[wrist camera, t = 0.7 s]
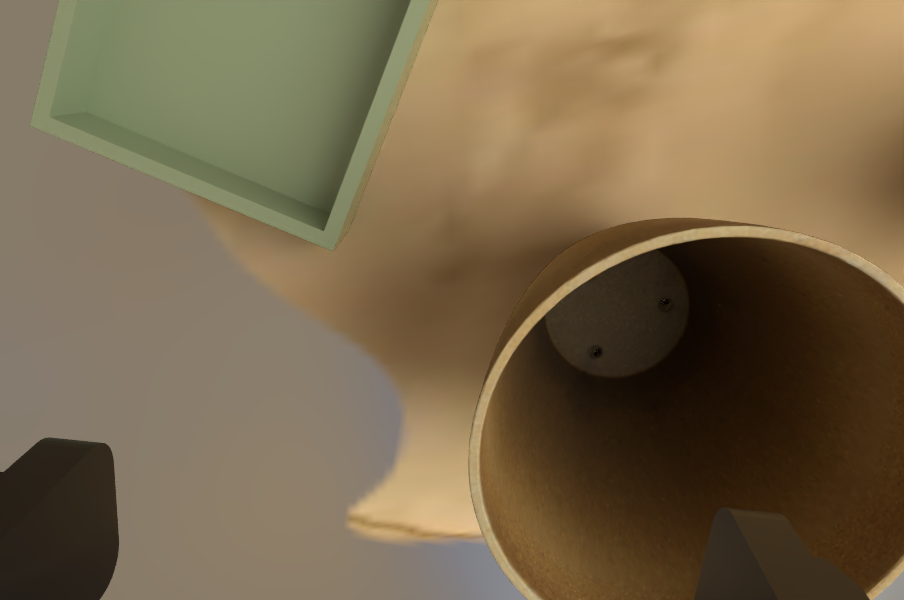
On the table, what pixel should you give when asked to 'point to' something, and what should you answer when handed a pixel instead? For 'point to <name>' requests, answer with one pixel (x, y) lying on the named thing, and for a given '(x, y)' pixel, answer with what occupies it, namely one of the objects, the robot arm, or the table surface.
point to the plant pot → (691, 409)
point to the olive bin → (236, 97)
